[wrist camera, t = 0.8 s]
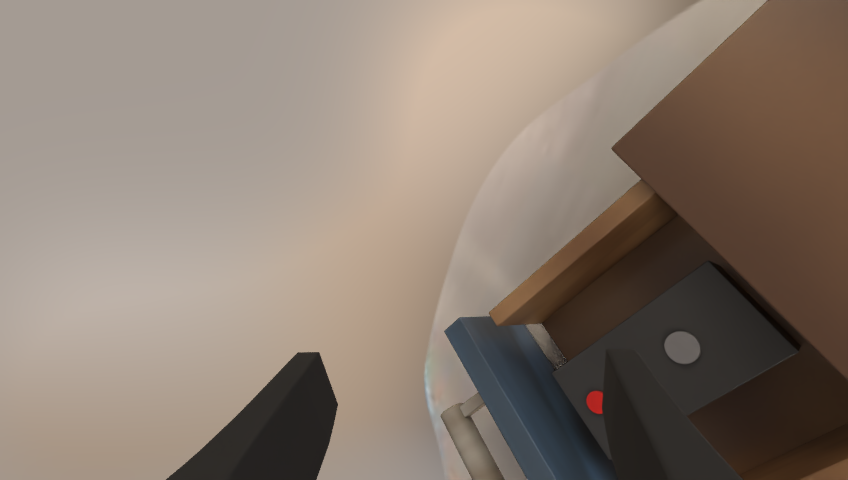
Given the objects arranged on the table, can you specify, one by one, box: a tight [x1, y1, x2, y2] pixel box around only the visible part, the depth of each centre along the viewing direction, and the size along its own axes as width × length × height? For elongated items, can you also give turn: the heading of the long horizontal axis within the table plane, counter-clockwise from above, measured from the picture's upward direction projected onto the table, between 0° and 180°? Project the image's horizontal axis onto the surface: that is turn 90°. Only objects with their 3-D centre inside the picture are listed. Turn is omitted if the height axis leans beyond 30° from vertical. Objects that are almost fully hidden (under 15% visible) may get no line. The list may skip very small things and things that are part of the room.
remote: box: [552, 261, 801, 460], centre depth 19 cm, size 4×8×3 cm, turn 125°
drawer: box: [441, 179, 848, 480], centre depth 19 cm, size 18×12×6 cm
